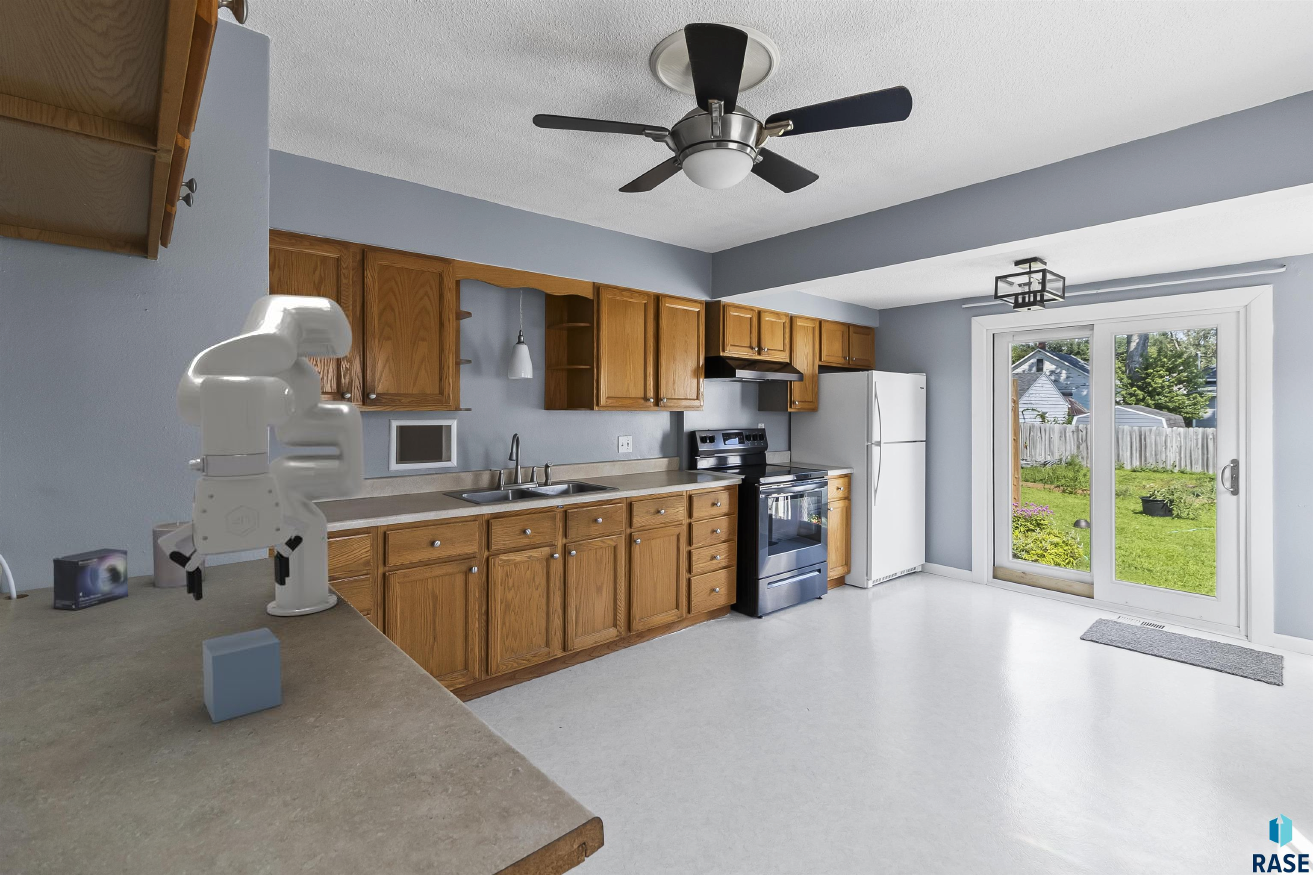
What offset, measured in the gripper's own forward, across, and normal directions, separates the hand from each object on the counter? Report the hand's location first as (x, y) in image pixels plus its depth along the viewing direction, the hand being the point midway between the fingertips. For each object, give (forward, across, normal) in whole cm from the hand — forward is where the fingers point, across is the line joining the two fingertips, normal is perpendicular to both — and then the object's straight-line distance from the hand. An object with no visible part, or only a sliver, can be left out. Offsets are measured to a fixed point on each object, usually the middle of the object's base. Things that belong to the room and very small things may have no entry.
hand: (240, 590), depth 87 cm
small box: (+17, -14, +76) cm, 79 cm away
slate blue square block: (+16, 0, -1) cm, 16 cm away
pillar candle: (+18, +2, +82) cm, 84 cm away
